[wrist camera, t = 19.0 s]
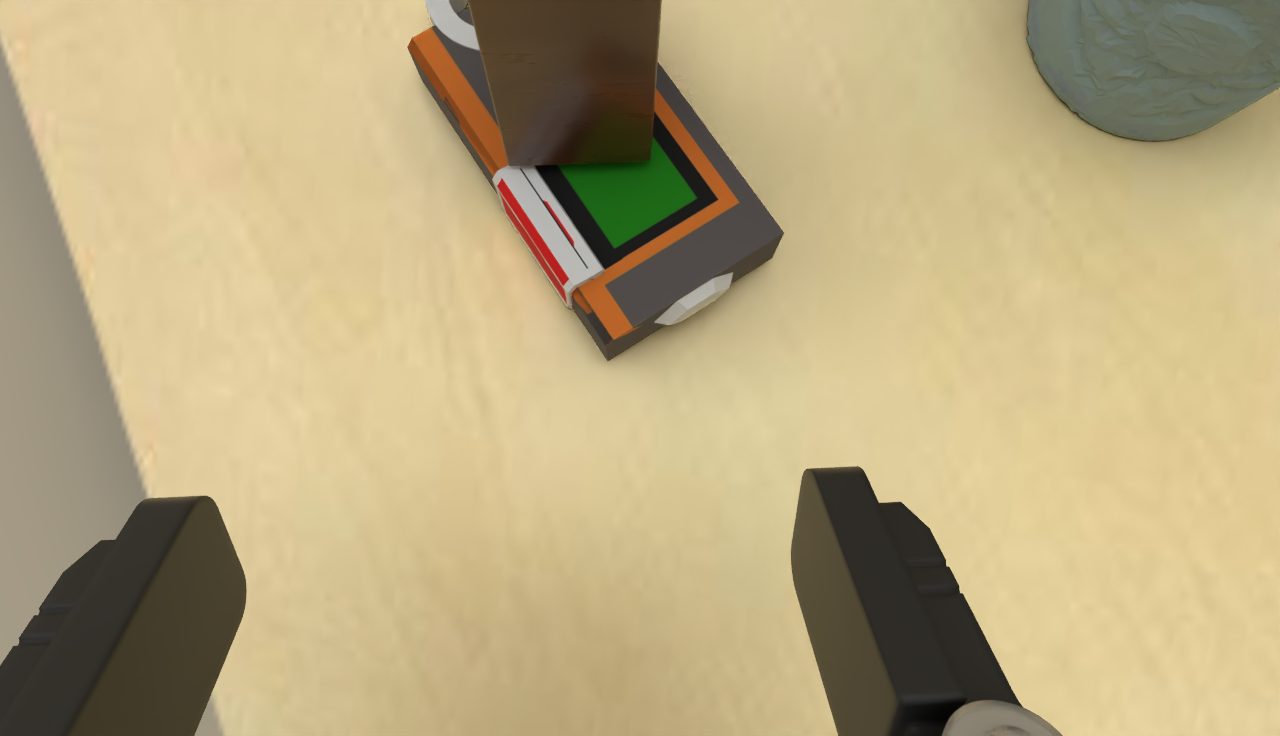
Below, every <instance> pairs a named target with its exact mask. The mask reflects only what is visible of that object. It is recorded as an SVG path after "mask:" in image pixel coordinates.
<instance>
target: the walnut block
mask: <svg viewBox="0 0 1280 736" xmlns="http://www.w3.org/2000/svg"><path fill="white" fill-rule="evenodd" d="M467 1H468V5H469V9H470V13H471V17H472V21H473V25H474V29H475V33H476V37H477V41H478V45H479V49H480V53H481V57H482V61H483V65H484V69H485V73H486V77H487V82H488V86H489V90H490V94H491V98H492V102H493V106H494V110H495V114H496V118H497V122H498V126H499V130H500V134H501V138H502V142H503V146H504V150H505V154H506V158H507V162H508V165H509V166H535V165H561V164H586V163H612V162H638V161H650V159H651V149H652V135H653V120H654V106H655V91H656V77H657V62H658V48H659V33H660V19H661V4H662V0H467Z"/></svg>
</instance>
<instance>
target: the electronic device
mask: <svg viewBox="0 0 1280 736" xmlns="http://www.w3.org/2000/svg"><path fill="white" fill-rule="evenodd" d="M425 2H426V6H427V9H428V13H429V15H430V18H431V21H432V23H433V27H431V28H429V29H428V30H426V31H424V32H422V33H420V34H418V35H417V36H415V37H413V38H412V39H411V41H410V43H409V45H408V50H409V52H410V54H411V56H412V59H413V61H414V63H415V66H416V68H417V70H418V72H419V75H420V77H421V79H422V81H423V82H424V84H425V85H426V87H427V88H428V90H429V91H430V93H431V95H432V96H433V98H434V99H435V101H436V102H437V104H438V105H439V107H440V108H441V110H442V111H443V113H444V114H445V116H446V117H447V119H448V120H449V122H450V123H451V125H452V126H453V128H454V129H455V131H456V132H457V134H458V135H459V137H460V138H461V140H462V141H463V143H464V144H465V146H466V147H467V149H468V150H469V152H470V153H471V155H472V156H473V158H474V160H475V161H476V163H477V164H478V166H479V167H480V169H481V170H482V172H483V173H484V175H485V176H486V178H487V179H488V181H489V182H490V184H491V185H492V187H493V188H494V190H495V191H496V193H497V194H498V196H499V199H500V202H501V205H502V210H503V212H504V213H505V215H506V216H507V218H508V219H509V221H510V222H511V224H512V225H513V227H514V228H515V230H516V231H517V233H518V234H519V236H520V237H521V239H522V240H523V242H524V243H525V245H526V246H527V248H528V249H529V251H530V252H531V254H532V255H533V257H534V259H535V260H536V262H537V263H538V265H539V266H540V268H541V269H542V271H543V272H544V274H545V275H546V277H547V278H548V280H549V281H550V283H551V284H552V286H553V287H554V289H555V290H556V292H557V293H558V295H559V296H560V298H561V299H562V301H563V302H564V304H565V305H566V307H567V308H568V309H574V311H575V312H576V314H577V315H578V317H579V318H580V320H581V321H582V323H583V324H584V326H585V327H586V329H587V330H588V332H589V333H590V335H591V336H592V338H593V339H594V341H595V342H596V344H597V345H598V347H599V348H600V350H601V351H602V353H603V355H604V356H605V358H606V359H607V361H609V360H610V359H612V358H614V357H615V356H617V355H618V354H620V353H622V352H623V351H625V350H626V349H628V348H629V347H631V346H633V345H634V344H636V343H637V342H639V341H641V340H642V339H644V338H645V337H647V336H649V335H650V334H652V333H653V332H655V331H657V330H658V329H660V328H661V327H663V326H664V325H673V324H676V323H679V322H682V321H683V320H685V319H687V318H688V317H690V316H691V315H693V314H694V313H696V312H698V311H699V310H701V309H702V308H704V307H706V306H707V305H709V304H710V303H712V302H714V301H715V300H717V299H718V298H719V297H720V296H721V295H722V294H723V293H724V292H726V291H727V290H728V289H729V288H730V284H731V283H733V282H735V281H736V280H738V279H739V278H741V277H742V276H744V275H746V274H747V273H749V272H750V271H752V270H754V269H755V268H757V267H758V266H760V265H762V264H763V263H765V262H766V261H768V260H770V259H771V258H772V257H773V255H774V253H775V251H776V249H777V246H778V244H779V242H780V240H781V238H782V236H783V234H784V232H783V231H782V230H781V228H780V227H779V225H778V224H777V223H776V221H775V220H774V219H773V217H772V216H771V215H770V213H769V212H768V211H767V209H766V208H765V206H764V205H763V204H762V202H761V201H760V200H759V198H758V197H757V196H756V194H755V193H754V192H753V190H752V189H751V187H750V186H749V185H748V183H747V182H746V181H745V179H744V178H743V177H742V175H741V174H740V173H739V171H738V170H737V169H736V167H735V166H734V164H733V163H732V162H731V160H730V159H729V158H728V156H727V155H726V154H725V152H724V151H723V150H722V148H721V147H720V145H719V144H718V143H717V141H716V140H715V139H714V137H713V136H712V135H711V133H710V132H709V131H708V129H707V128H706V126H705V125H704V124H703V122H702V121H701V120H700V118H699V117H698V116H697V114H696V113H695V112H694V110H693V109H692V107H691V106H690V105H689V103H688V102H687V101H686V99H685V98H684V97H683V95H682V94H681V93H680V91H679V90H678V89H677V87H676V86H675V84H674V83H673V82H672V80H671V79H670V78H669V76H668V75H667V74H666V72H665V71H664V70H663V68H662V67H661V65H660V64H659V63H658V62H657V77H656V91H655V106H654V120H653V135H652V149H651V159H650V161H638V162H612V163H586V164H561V165H535V166H509V165H508V162H507V158H506V154H505V150H504V146H503V142H502V138H501V134H500V130H499V126H498V122H497V118H496V114H495V110H494V106H493V102H492V98H491V94H490V90H489V86H488V82H487V77H486V73H485V69H484V65H483V61H482V57H481V53H480V49H479V45H478V41H477V37H476V33H475V29H474V25H473V21H472V17H471V13H470V9H469V7H468V8H466V9H464V8H465V6H466V5H467V3H468V1H467V0H425ZM463 9H464V10H463Z"/></svg>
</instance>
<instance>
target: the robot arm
mask: <svg viewBox="0 0 1280 736" xmlns="http://www.w3.org/2000/svg"><path fill="white" fill-rule="evenodd" d="M791 565H792V574H793V581H794V586H795V590H796V593H797V597H798V600H799V603H800V607H801V610H802V614H803V617H804V620H805V624H806V627H807V631H808V634H809V637H810V641H811V644H812V648H813V651H814V654H815V658H816V661H817V665H818V668H819V671H820V675H821V678H822V681H823V685H824V688H825V692H826V695H827V698H828V702H829V705H830V709H831V712H832V715H833V719H834V722H835V726H836V729H837V732H838V736H1062V735H1061V733H1060V732H1059V731H1057V730H1056V729H1055V728H1054V727H1053V726H1052V725H1051V724H1050V723H1048V722H1047V721H1045V720H1044V719H1043V718H1041V717H1040V716H1038V715H1036V714H1035V713H1033V712H1031V711H1029V710H1027V709H1025V708H1023V707H1022V705H1021V704H1020V703H1019V701H1018V699H1017V698H1016V696H1015V694H1014V693H1013V691H1012V689H1011V687H1010V685H1009V683H1008V681H1007V679H1006V677H1005V675H1004V673H1003V671H1002V669H1001V667H1000V665H999V663H998V661H997V659H996V658H995V656H994V654H993V652H992V650H991V648H990V646H989V644H988V642H987V640H986V638H985V636H984V634H983V632H982V630H981V628H980V626H979V624H978V622H977V620H976V618H975V616H974V614H973V612H972V610H971V609H970V607H969V605H968V603H967V601H966V599H965V597H964V595H963V593H962V594H960V591H959V585H958V583H957V581H956V579H955V577H954V575H953V573H952V571H951V569H950V567H947V566H946V560H945V558H944V556H943V554H942V552H941V550H940V548H939V546H938V544H937V542H936V540H935V538H934V536H933V534H932V532H931V530H930V528H929V527H927V526H926V525H925V524H924V523H923V522H922V521H921V520H920V519H919V518H918V517H917V516H916V515H915V514H913V513H912V512H911V511H910V510H909V509H908V508H907V507H906V506H905V505H904V504H903V503H902V502H890V503H879V502H878V500H877V498H876V496H875V493H874V491H873V489H872V487H871V485H870V482H869V480H868V478H867V476H866V474H865V472H864V471H863V469H862V468H860V467H858V466H856V467H835V468H814V469H806V470H805V471H804V473H803V476H802V481H801V487H800V494H799V500H798V506H797V513H796V519H795V526H794V532H793V539H792V546H791ZM245 604H246V579H245V575H244V571H243V569H242V566H241V564H240V561H239V559H238V556H237V554H236V551H235V549H234V546H233V544H232V541H231V539H230V536H229V534H228V532H227V529H226V527H225V524H224V522H223V519H222V517H221V514H220V512H219V509H218V507H217V505H216V503H215V502H214V500H213V499H212V498H210V497H208V496H189V497H168V498H149V499H145V500H143V501H142V502H141V503H140V504H138V506H137V507H136V508H135V510H134V511H133V513H132V515H131V516H130V518H129V519H128V521H127V522H126V524H125V525H124V527H123V529H122V530H121V532H120V534H119V535H118V537H117V538H116V540H102V541H100V542H98V543H97V544H96V545H95V546H94V547H93V548H91V549H90V550H89V551H88V552H87V553H85V554H84V555H83V556H82V557H81V558H80V559H78V560H77V561H76V562H75V563H74V564H73V565H71V566H70V567H69V568H68V569H67V570H65V571H64V572H63V573H62V575H61V576H60V578H59V579H58V581H57V582H56V584H55V586H54V587H53V588H52V590H51V591H50V593H49V594H48V596H47V597H46V599H45V600H44V602H43V603H42V605H41V606H40V608H39V610H40V612H39V615H35V616H34V617H33V618H32V620H31V621H30V622H29V624H28V625H27V627H26V628H25V630H24V631H23V633H22V634H21V636H20V637H19V645H18V646H13V648H12V649H11V651H10V652H9V654H8V655H7V657H6V658H5V660H4V661H3V663H2V664H1V666H0V736H194V735H195V732H196V730H197V727H198V725H199V723H200V720H201V718H202V715H203V712H204V710H205V708H206V706H207V703H208V701H209V698H210V696H211V693H212V691H213V688H214V686H215V684H216V681H217V679H218V676H219V674H220V671H221V669H222V666H223V664H224V662H225V659H226V657H227V654H228V652H229V649H230V647H231V645H232V642H233V640H234V637H235V635H236V632H237V630H238V627H239V625H240V623H241V620H242V617H243V614H244V609H245Z"/></svg>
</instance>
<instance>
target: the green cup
mask: <svg viewBox="0 0 1280 736" xmlns="http://www.w3.org/2000/svg"><path fill="white" fill-rule="evenodd" d="M1027 28H1028V31H1029V35H1028V37H1027V41H1028V44H1029V46H1030V48H1031V50H1032V51H1033V52H1034V58H1033V60H1034V61H1035V63H1036V64H1037V65H1038V68H1039V72H1040V74H1041V75H1042V76H1043V77H1044V79H1045V81H1046V82H1047V83H1048V84H1049V85H1050V87H1051V88H1052V90H1053V91H1054V93H1055V94H1056V95H1057V96H1058V97H1059V98H1060V99H1061V100H1062V101H1063V102H1064V103H1066V104H1067V106H1068V107H1069V108H1070V110H1071V111H1073V112H1076V113H1078V115H1079V117H1080V118H1082V119H1084V120H1086V121H1087V122H1088V123H1090V124H1091V125H1093V126H1095V127H1097V128H1099V129H1101V130H1103V131H1105V132H1108V133H1112V134H1115V135H1118V136H1121V137H1126V138H1131V139H1138V140H1146V141H1164V140H1170V139H1175V138H1180V137H1184V136H1188V135H1191V134H1194V133H1197V132H1200V131H1202V130H1205V129H1207V128H1209V127H1211V126H1213V125H1215V124H1216V123H1218V122H1220V121H1222V120H1224V119H1226V118H1227V117H1229V116H1231V115H1233V114H1234V113H1236V112H1238V111H1240V110H1242V109H1243V108H1245V107H1247V106H1249V105H1250V104H1252V103H1254V102H1256V101H1257V100H1259V99H1261V98H1263V97H1264V96H1266V95H1268V94H1270V93H1271V92H1273V91H1274V90H1276V89H1278V88H1279V87H1280V0H1030V3H1029V12H1028V22H1027Z"/></svg>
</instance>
